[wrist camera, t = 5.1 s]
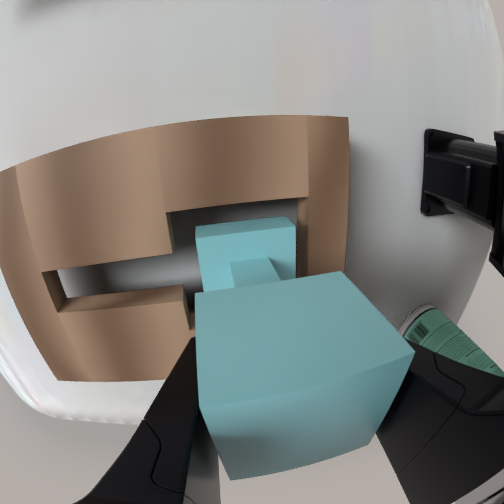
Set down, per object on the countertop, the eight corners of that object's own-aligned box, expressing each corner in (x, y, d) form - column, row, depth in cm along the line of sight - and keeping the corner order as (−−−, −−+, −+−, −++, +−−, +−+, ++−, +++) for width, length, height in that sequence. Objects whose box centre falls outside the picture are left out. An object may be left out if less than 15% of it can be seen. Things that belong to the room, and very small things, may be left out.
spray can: (389, 354, 24) (494, 503, 6) (404, 310, 22) (540, 470, 4) (426, 340, 25) (528, 464, 7) (442, 298, 22) (568, 426, 4)
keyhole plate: (313, 120, 14) (348, 117, 10) (311, 314, 19) (333, 350, 16) (17, 169, 12) (-22, 181, 8) (73, 342, 17) (57, 380, 13)
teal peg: (284, 216, 12) (415, 351, 4) (285, 291, 14) (368, 444, 6) (195, 226, 12) (199, 406, 4) (207, 303, 14) (230, 480, 5)
